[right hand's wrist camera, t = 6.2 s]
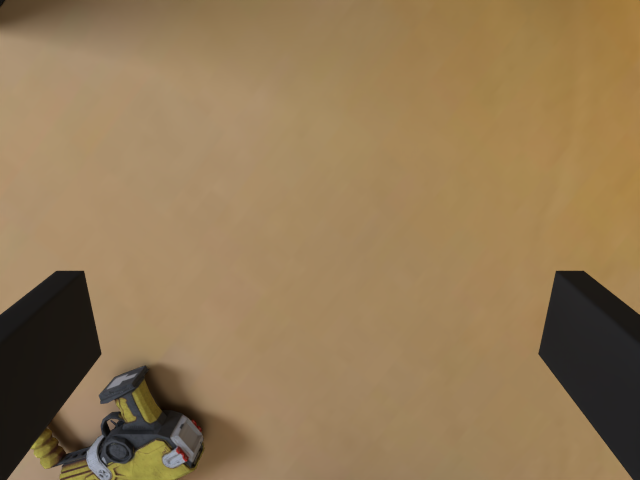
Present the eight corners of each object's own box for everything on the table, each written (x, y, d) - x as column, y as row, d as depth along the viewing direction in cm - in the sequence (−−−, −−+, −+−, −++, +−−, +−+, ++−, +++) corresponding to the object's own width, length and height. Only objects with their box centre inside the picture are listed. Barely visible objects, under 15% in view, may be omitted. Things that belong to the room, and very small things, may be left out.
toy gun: (-57, 461, 48) (40, 553, 51) (102, 361, 42) (202, 472, 45) (-22, 430, 52) (66, 516, 55) (127, 335, 46) (216, 438, 49)
